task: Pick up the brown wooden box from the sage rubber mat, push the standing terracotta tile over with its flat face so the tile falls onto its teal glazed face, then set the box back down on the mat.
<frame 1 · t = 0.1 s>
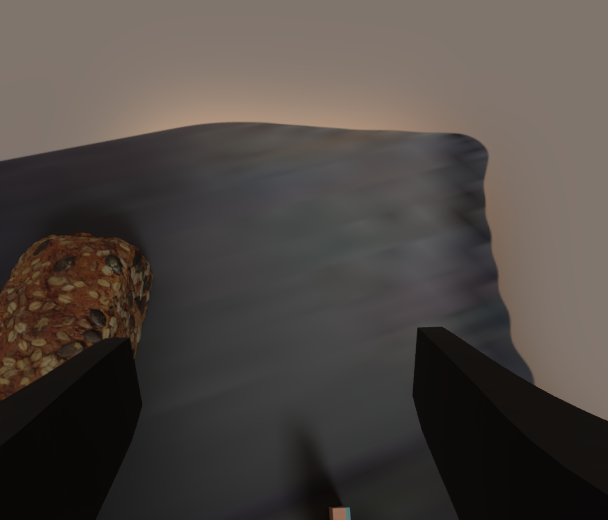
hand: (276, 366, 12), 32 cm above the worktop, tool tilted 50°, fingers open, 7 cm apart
bread: (88, 357, 45), on the worktop
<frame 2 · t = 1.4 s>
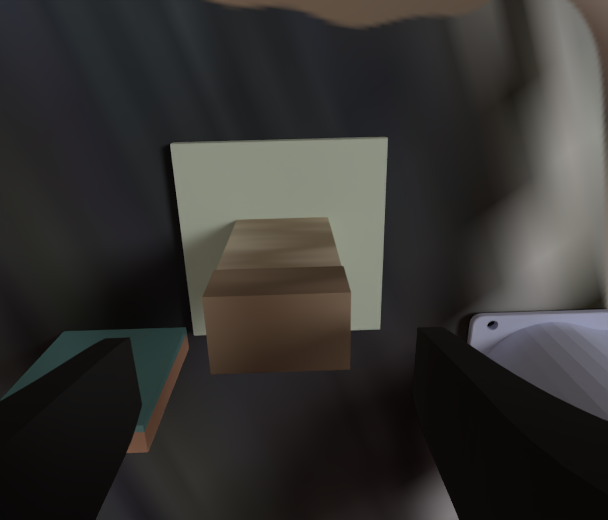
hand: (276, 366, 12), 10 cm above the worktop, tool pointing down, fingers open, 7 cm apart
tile: (127, 339, 23), on the worktop
mat: (283, 240, 21), on the worktop
brown wooden box: (283, 244, 20), point 1 cm above the worktop, touching mat
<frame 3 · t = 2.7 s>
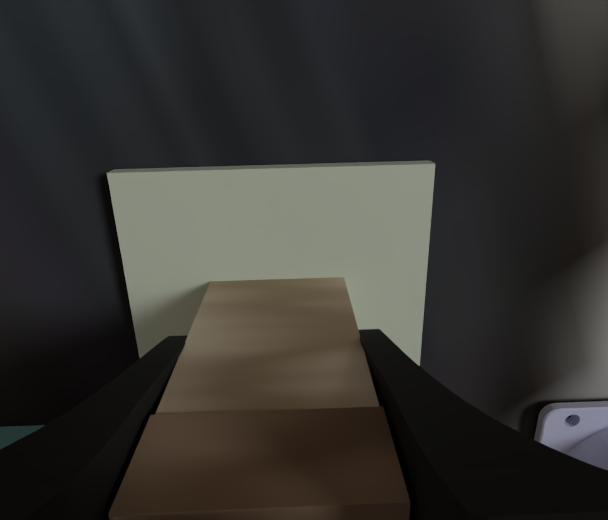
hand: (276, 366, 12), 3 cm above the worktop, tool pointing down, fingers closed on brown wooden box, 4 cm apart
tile: (62, 438, 16), on the worktop
mat: (279, 306, 15), on the worktop
brown wooden box: (279, 314, 14), point 1 cm above the worktop, touching gripper, mat
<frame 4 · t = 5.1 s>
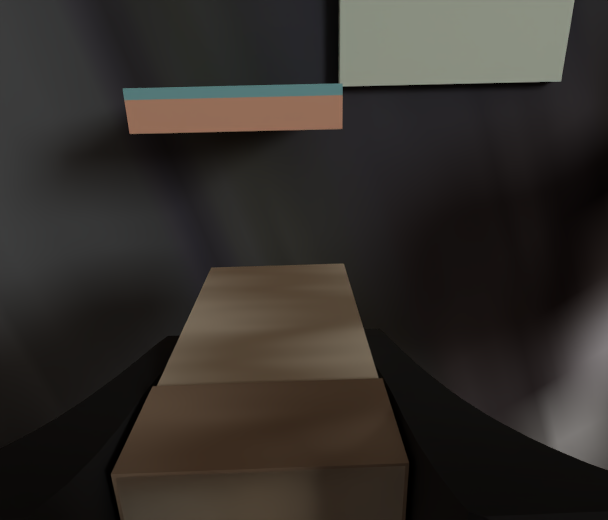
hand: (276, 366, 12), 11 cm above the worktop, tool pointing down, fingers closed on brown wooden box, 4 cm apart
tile: (255, 101, 19), on the worktop
brown wooden box: (279, 301, 14), point 7 cm above the worktop, touching gripper
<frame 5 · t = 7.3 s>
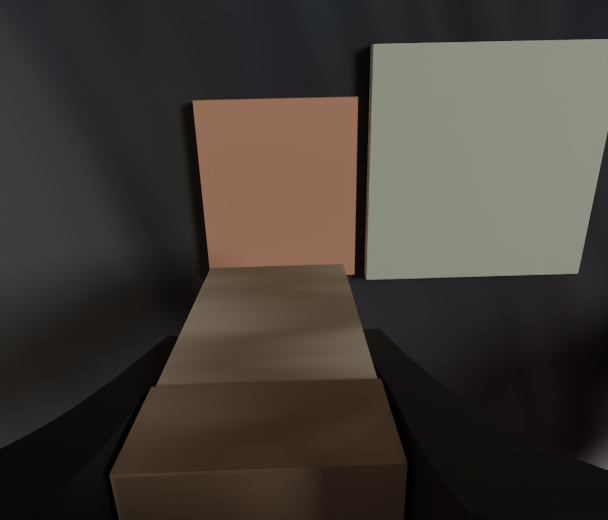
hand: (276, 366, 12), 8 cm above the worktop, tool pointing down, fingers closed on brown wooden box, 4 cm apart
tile: (283, 270, 20), on the worktop, tilted 90°
mat: (479, 167, 18), on the worktop
brown wooden box: (278, 301, 14), point 5 cm above the worktop, touching gripper
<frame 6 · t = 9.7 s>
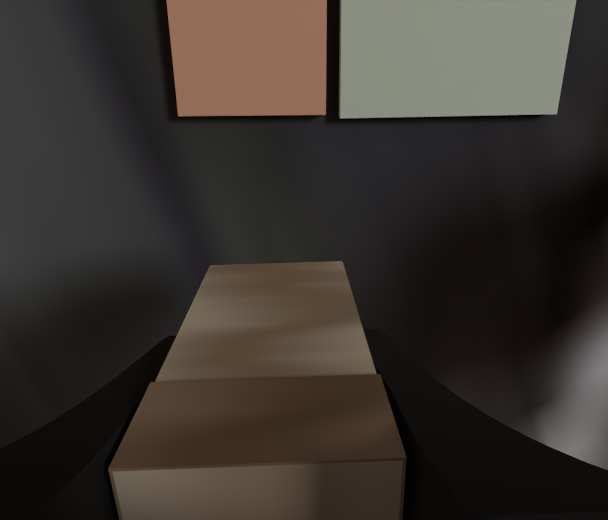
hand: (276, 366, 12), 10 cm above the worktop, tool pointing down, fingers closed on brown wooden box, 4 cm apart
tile: (253, 114, 19), on the worktop, tilted 90°
brown wooden box: (278, 299, 14), point 7 cm above the worktop, touching gripper
when the fingers open (4 cm above the worktop, at t = 11.9 s): brown wooden box stays where it is, resting on mat.
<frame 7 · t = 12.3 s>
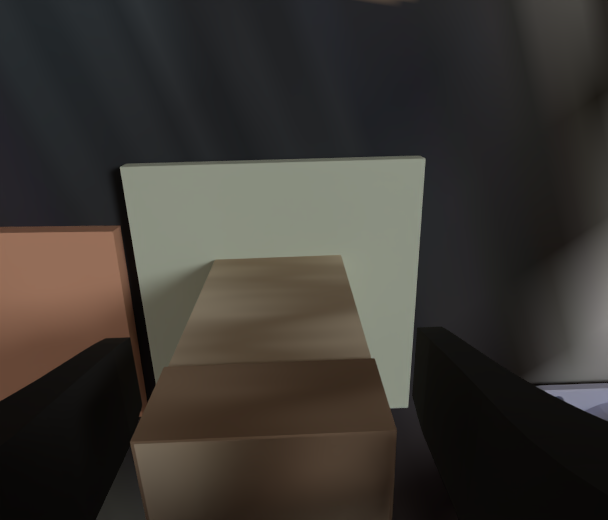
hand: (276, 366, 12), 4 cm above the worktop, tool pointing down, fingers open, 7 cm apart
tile: (65, 407, 17), on the worktop, tilted 90°
mat: (280, 292, 16), on the worktop
brown wooden box: (280, 291, 15), point 1 cm above the worktop, touching mat
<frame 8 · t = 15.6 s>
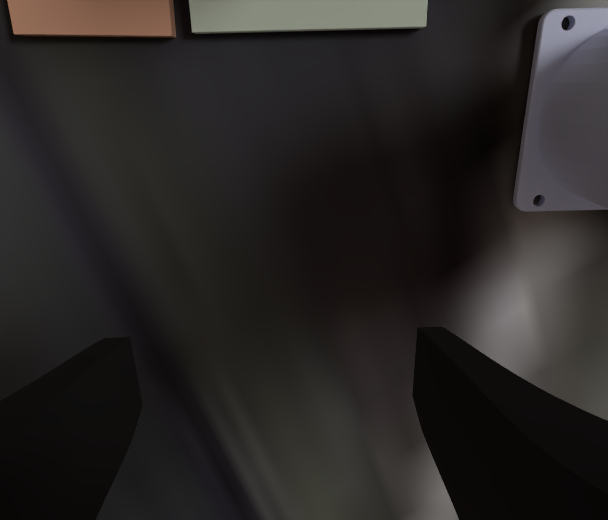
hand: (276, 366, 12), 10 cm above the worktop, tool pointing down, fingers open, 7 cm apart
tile: (99, 36, 18), on the worktop, tilted 90°
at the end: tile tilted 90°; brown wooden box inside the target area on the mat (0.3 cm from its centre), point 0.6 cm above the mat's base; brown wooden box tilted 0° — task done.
